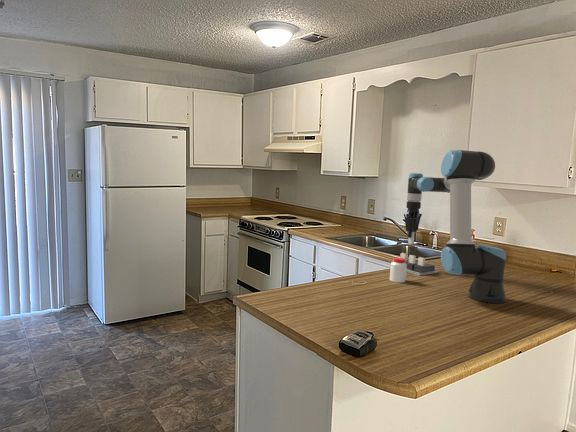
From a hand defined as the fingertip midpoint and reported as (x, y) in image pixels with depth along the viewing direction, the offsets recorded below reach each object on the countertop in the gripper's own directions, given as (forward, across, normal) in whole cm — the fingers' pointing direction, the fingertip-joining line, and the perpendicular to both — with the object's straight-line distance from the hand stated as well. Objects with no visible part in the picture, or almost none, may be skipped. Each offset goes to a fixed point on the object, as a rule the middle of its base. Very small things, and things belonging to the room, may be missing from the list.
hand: (410, 243), depth 243 cm
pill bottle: (+15, +28, +16) cm, 35 cm away
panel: (+14, +2, +5) cm, 15 cm away
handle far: (+10, +5, +11) cm, 16 cm away
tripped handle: (+9, +5, -1) cm, 10 cm away
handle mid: (+10, +5, +5) cm, 12 cm away
